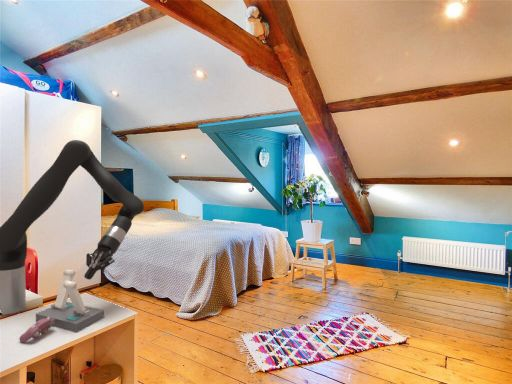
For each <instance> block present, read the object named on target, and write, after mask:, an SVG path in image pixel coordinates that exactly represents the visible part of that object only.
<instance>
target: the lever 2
mask: <svg viewBox="0 0 512 384" xmlns="http://www.w3.org/2000/svg"><path fill="white" fill-rule="evenodd" d="M77 285H78V283H77V282H76V281H73V280H72V281H68V280H66V281H65V282H64V283H63V287H65V288H66V290H67V293H68V298H69V299H70V301H71V302H70V303H72V304H73V306H74V309H75V311H76V313H80V314H84V312H86V311H87V310H86V308H85V306H86V305H85V304H84V301H83V299H82V297H81V294H80V292H79V290H78V286H77Z"/></svg>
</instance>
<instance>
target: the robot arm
mask: <svg viewBox="0 0 512 384" xmlns="http://www.w3.org/2000/svg"><path fill="white" fill-rule="evenodd" d="M80 167H81V168H83V169H84V170H85V171H86V172H87V173H88V174H89V175H90V176H91V177H92V178H93V180H94V181H95V182H96V184H97V185H98V186H99V187H100V189H102V192H104V193H105V194H106V195H107V196H108V197H109V198H110V199H111V200H112V201H113V202H115V203H121V204H122V206H121V207H120V209H119V211H118V213H117V215H116V218H115V219H114V220H113V222H112V223H111V225H110V226H109V227H108V228H107V230H106V231H105V232H104V233H103V236H102V237H101V238H100V240H99V241H98V242H97V247H96V249H95V250H94V251H93V252H91V253H89V252H88V253H86V255H85V256H86V260H85V261H86V263H85V265H86V266H87V267H88V269H87V270H86V272H85V273H84V275H83V277H84V279H86V280H92V279H93V278H94V276H95V274H96V273H97V272H98V271H99V270H100V271H103V270H104V269H106V268H108V267H109V266H111V264H114V263H115V261H116V260H115V259H114V258H113V256H114V255H115V254H116V252H117V251H118V250H119V247H120V246H121V245H122V243H123V242H124V239H125V237H126V236H127V234H128V232H129V230H130V229H131V227H132V226H133V225H132V224H133V223H132V222H133V220H134V218H135V217H136V216H138V215H140V214H141V213H142V212H144V210H145V206H144V202H143V201H142V200H141V198H140V197H138V196H137V195H135V193H134V194H133V193H132V192H131V191H129V190H127V189H126V188H125V186H123V184H122V183H121V182H120V181H119V180H118V179H117V178H116V177H115V176H114V175H113V174H112V173H111V172H110V171H109V170H108V169H107V168H106V167H105V165H103V164H102V163H101V162H100V160H99V159H98V158H97V157H96V155H95V154H94V152H93V151H92V149H91V148H90V146H89V144H88V143H86V142H85V141H82V140H79V139H72V140H70V141H68V142H67V143H66V144H65V145H64V146H63V148H62V149H61V151H60V152H59V154H58V156H57V157H56V159H55V160H54V163H52V164H51V166H50V167H49V168H48V169H47V170H46V171H45V172H44V173H43V174H42V175H41V176H40V177H39V179H38V180H37V181H36V182H35V183H34V185H33V186H32V187H30V189H29V190H28V191H27V193H26V195H25V196H24V197H23V199H22V200H21V201H20V203H19V205H18V206H17V208H16V209H15V210H14V211H13V213H12V214H11V215H10V216H9V218H8V219H7V220H5V222H3V224H2V225H1V226H0V310H1V312H2V315H3V316H4V315H5V316H6V315H11V314H15V313H19V312H21V311H23V310H26V307H27V304H26V301H27V300H26V299H27V296H26V294H27V293H26V292H27V291H26V260H27V257H28V255H27V253H28V236H27V231H28V230H29V228H30V227H31V225H33V224H34V222H36V220H38V219H39V218H40V217H42V216H43V215H44V214H45V213H46V212H47V210H49V209H50V208H51V207H52V205H54V203H55V202H56V200H58V198H59V196H60V195H61V193H62V192H63V190H64V189H65V186H66V185H67V183H68V181H69V179H70V177H71V175H73V173H74V172H75V171H77V169H78V168H80Z"/></svg>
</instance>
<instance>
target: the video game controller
mask: <svg viewBox="0 0 512 384" xmlns="http://www.w3.org/2000/svg"><path fill="white" fill-rule="evenodd" d="M54 323H55V320H54V319H53V318H49V317H47V318H46V319H41V320H39V321H37V322H36V321H35V323H34V324H32V325H31V326H30V327H29V328H28V329H26V331H25V332H23V333H22V334H21V335H20V336H19V339H18V340H19V342H21V343H25V342H27V341H29V340H31V339H33V340H37V339H38V338H39V337H40V335H42V336H43V335H45V334H46V333H47V332H48V331H49V330H50V329H51V328H52V327H54V326H53V324H54Z"/></svg>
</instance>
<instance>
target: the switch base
mask: <svg viewBox="0 0 512 384" xmlns="http://www.w3.org/2000/svg"><path fill="white" fill-rule="evenodd" d="M84 306H85V308H86V310H87V311H86V312H84V314H80V313H76V311H75V309H74V306H73V304H72V302H69V301H67V302H66V305H65V306H64V307H62V309H59V308H55V303H52V304H51V307H48V308H45V309H43V310H40V311H39V312H37V313H35V323H36V322H37V321H39V320H41V319H46V318H47V317H49V318H53V319H54V320H55V323H54V324H53V326H52V327H55V328H58V329H62V330H65V331H66V330H67V331H70V332H73V333H78V332H80V331H81V330H84V329H85V328H88V327H90V326H91V325H93V324H96V323H97V322H99V321H101V320H103V319H104V318H105V310H104V309H100V308H96V307H91V306H88V305H84Z"/></svg>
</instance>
